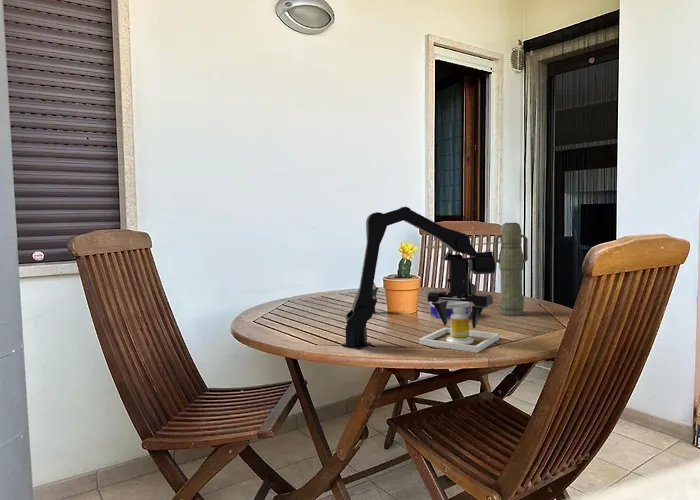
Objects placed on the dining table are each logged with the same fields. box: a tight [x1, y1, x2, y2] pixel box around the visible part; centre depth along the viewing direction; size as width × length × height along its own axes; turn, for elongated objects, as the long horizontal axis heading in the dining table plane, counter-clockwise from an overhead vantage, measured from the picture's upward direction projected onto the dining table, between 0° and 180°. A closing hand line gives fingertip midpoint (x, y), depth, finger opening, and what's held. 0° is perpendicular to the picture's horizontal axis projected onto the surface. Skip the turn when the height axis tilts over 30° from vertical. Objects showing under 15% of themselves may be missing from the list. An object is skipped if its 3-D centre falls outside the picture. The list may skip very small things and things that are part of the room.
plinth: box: [445, 335, 475, 345], centre depth 142 cm, size 8×8×1 cm
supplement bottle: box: [450, 306, 470, 341], centre depth 142 cm, size 5×5×10 cm
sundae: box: [372, 282, 380, 315], centre depth 191 cm, size 7×7×15 cm
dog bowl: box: [429, 298, 472, 320], centre depth 182 cm, size 15×15×6 cm
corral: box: [418, 327, 501, 353], centre depth 142 cm, size 18×18×2 cm
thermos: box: [494, 222, 529, 317], centre depth 181 cm, size 9×12×35 cm
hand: (459, 326), depth 142 cm, fingers open, 9 cm apart
